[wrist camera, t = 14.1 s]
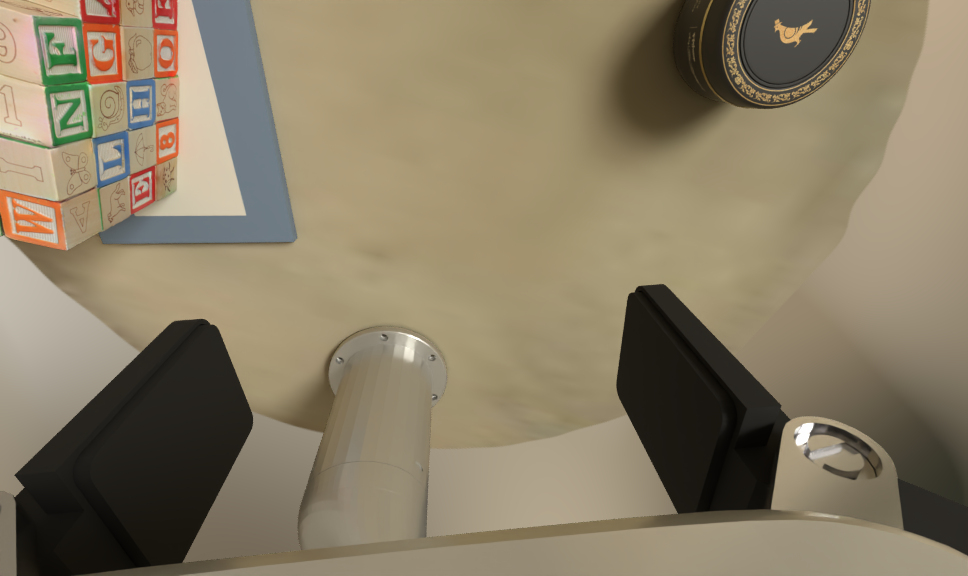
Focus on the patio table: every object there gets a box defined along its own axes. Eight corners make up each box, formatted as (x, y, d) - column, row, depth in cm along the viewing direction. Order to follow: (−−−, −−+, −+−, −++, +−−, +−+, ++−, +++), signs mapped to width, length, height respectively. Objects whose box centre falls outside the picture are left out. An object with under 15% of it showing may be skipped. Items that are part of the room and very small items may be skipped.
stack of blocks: (65, -184, 25) (-220, -358, 14) (183, -134, 26) (3, -260, 16) (93, 170, 34) (-69, 224, 24) (179, 193, 36) (63, 254, 25)
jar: (791, 74, 36) (869, 79, 29) (673, 118, 37) (723, 133, 30) (791, -71, 31) (885, -105, 25) (656, -16, 32) (710, -34, 26)
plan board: (297, 237, 39) (293, 242, 39) (111, 239, 38) (102, 243, 37) (200, -246, 25) (190, -257, 24) (-104, -267, 24) (-125, -280, 23)
